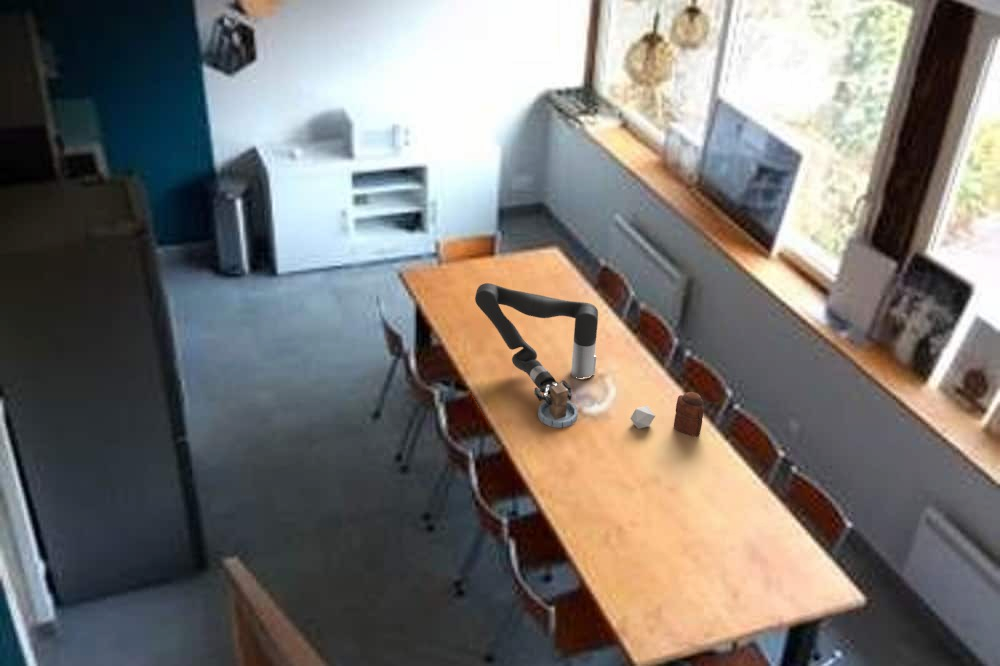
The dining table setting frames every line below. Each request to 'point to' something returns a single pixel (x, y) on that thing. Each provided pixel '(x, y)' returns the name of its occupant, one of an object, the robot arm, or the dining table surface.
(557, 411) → the walnut block
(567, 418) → the bowl
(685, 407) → the wooden figurine
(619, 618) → the dining table surface
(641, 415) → the die
